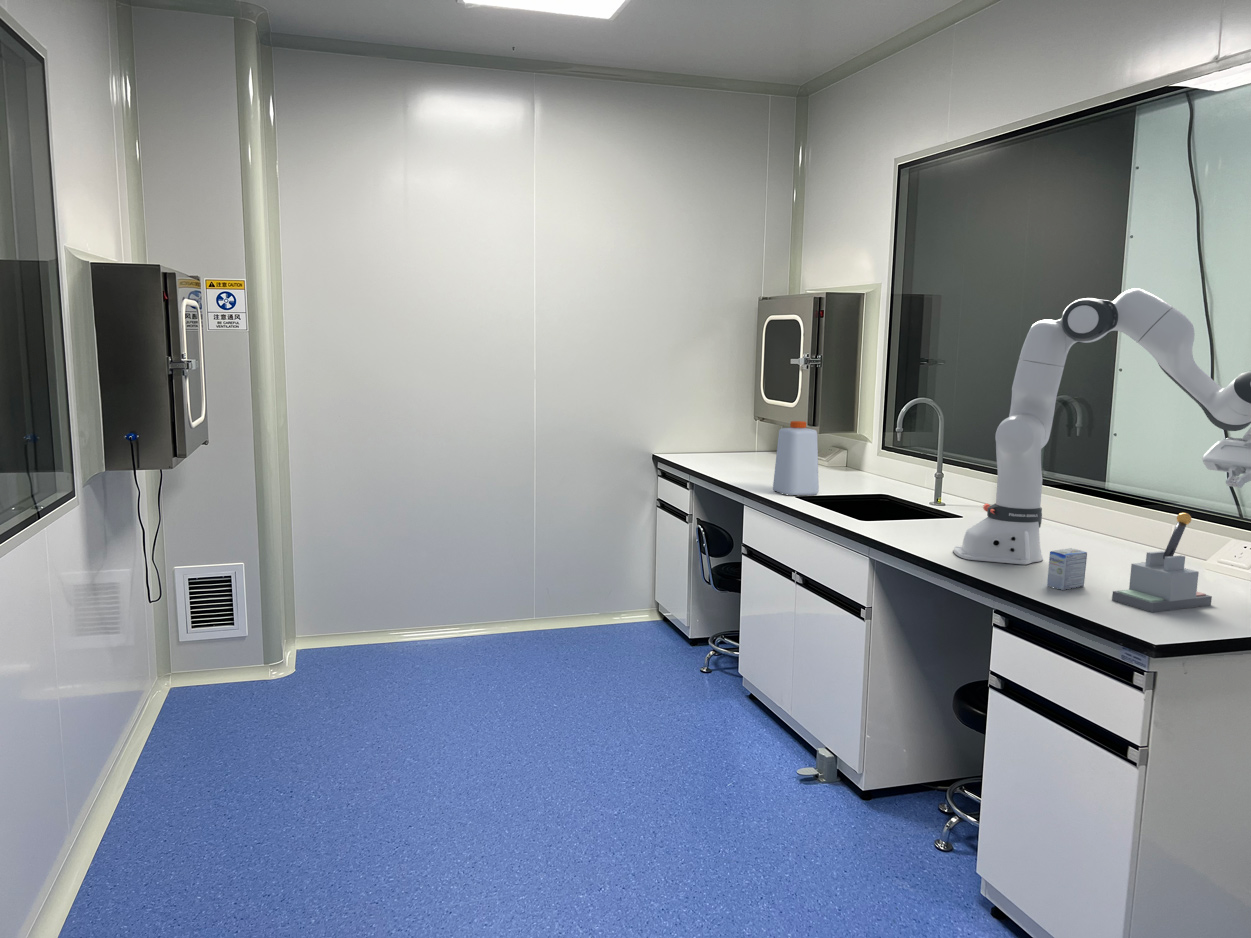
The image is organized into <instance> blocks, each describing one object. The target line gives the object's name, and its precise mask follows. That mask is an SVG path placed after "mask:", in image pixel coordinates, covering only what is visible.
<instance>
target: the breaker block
mask: <svg viewBox="0 0 1251 938" xmlns="http://www.w3.org/2000/svg"><path fill="white" fill-rule="evenodd" d="M1164 552H1165V550H1159V551H1150V552H1146V557H1145V562H1137V563H1134V562H1133V563H1131V565H1130V574H1129V575H1130V577H1129V586H1128V589H1122V590H1113V591H1112V597H1111V600H1112V601H1114V600H1115V601H1114V602H1117V601H1118V602H1117V603H1120V602H1121V603H1120V604H1123V605H1124V604H1125V605H1127V604H1128V605H1127V606H1130V605H1131V607H1133V606H1134V608H1136V607H1138V609H1140V608H1141V609H1140V610H1143V609H1144V611H1146V610H1147V611H1146V612H1149V611H1150V613H1157V612H1158V613H1159V612H1168V611H1173V610H1174V611H1175V610H1183V609H1190V608H1191V607H1192V608H1198V607H1199V606H1200V607H1206V606H1207V605H1208V606H1212V600H1213V599H1212V598H1213V597H1212V595H1209V594H1207V593H1204V592H1200V591H1198V584H1199V583H1198V582H1199V574H1200V573H1199V571H1198V570H1194V569H1190V568H1185V563H1186V556H1185V555H1182V554H1181V555H1173V556H1169V557H1165V560H1164V559H1163V555H1164ZM1192 608H1191V609H1192Z"/></svg>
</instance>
